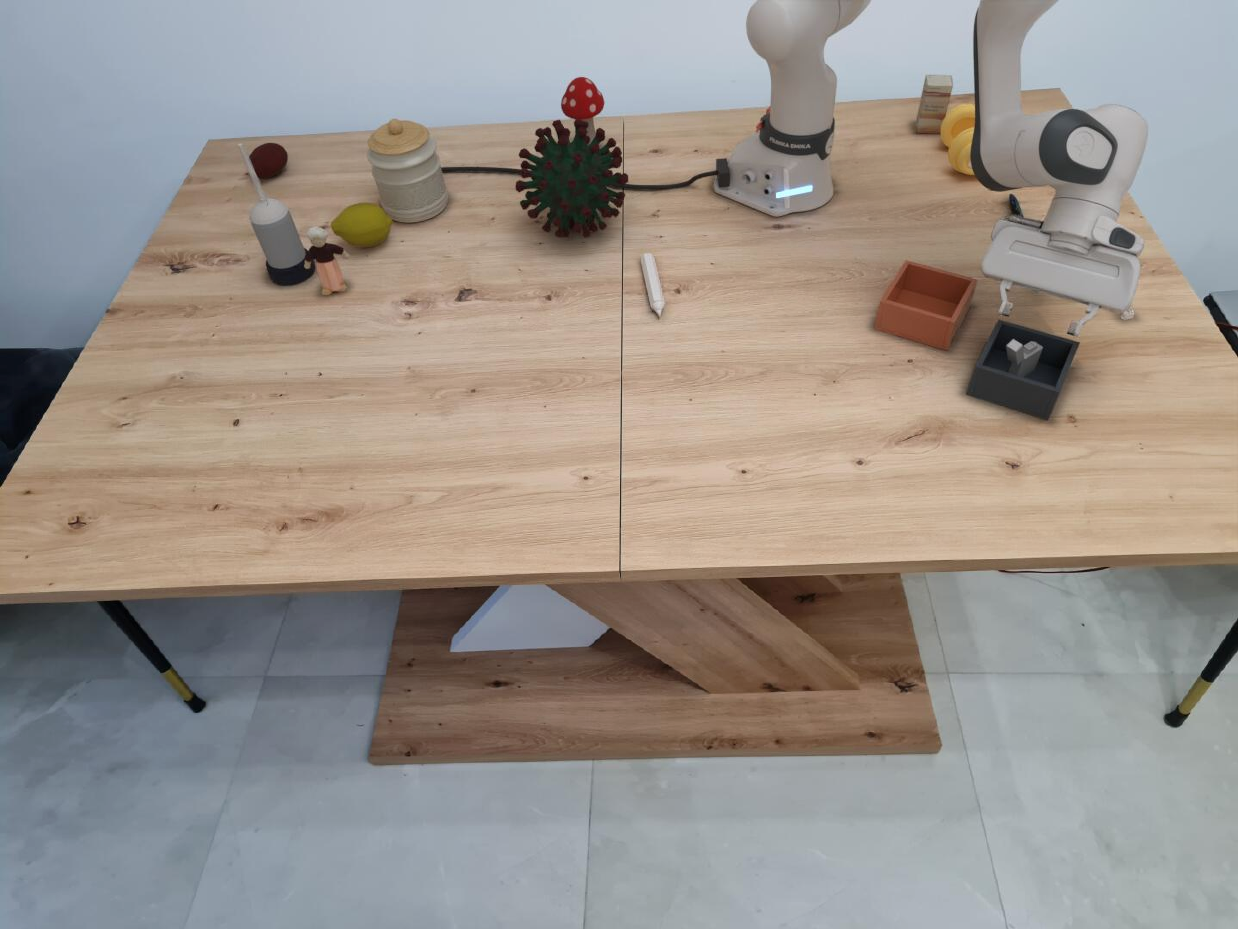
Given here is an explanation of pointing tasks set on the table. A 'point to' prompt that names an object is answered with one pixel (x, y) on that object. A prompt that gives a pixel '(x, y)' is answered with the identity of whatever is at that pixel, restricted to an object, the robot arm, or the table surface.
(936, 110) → the beige brown box
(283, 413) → the table surface
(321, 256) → the grandmother figurine
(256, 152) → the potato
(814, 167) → the robot arm
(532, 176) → the virus model
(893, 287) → the terracotta bin
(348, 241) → the lemon
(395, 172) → the jar
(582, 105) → the decorative mushroom
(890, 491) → the table surface
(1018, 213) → the knife
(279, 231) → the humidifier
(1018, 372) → the lighter
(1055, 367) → the grey bin
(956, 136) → the headset
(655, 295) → the marker
